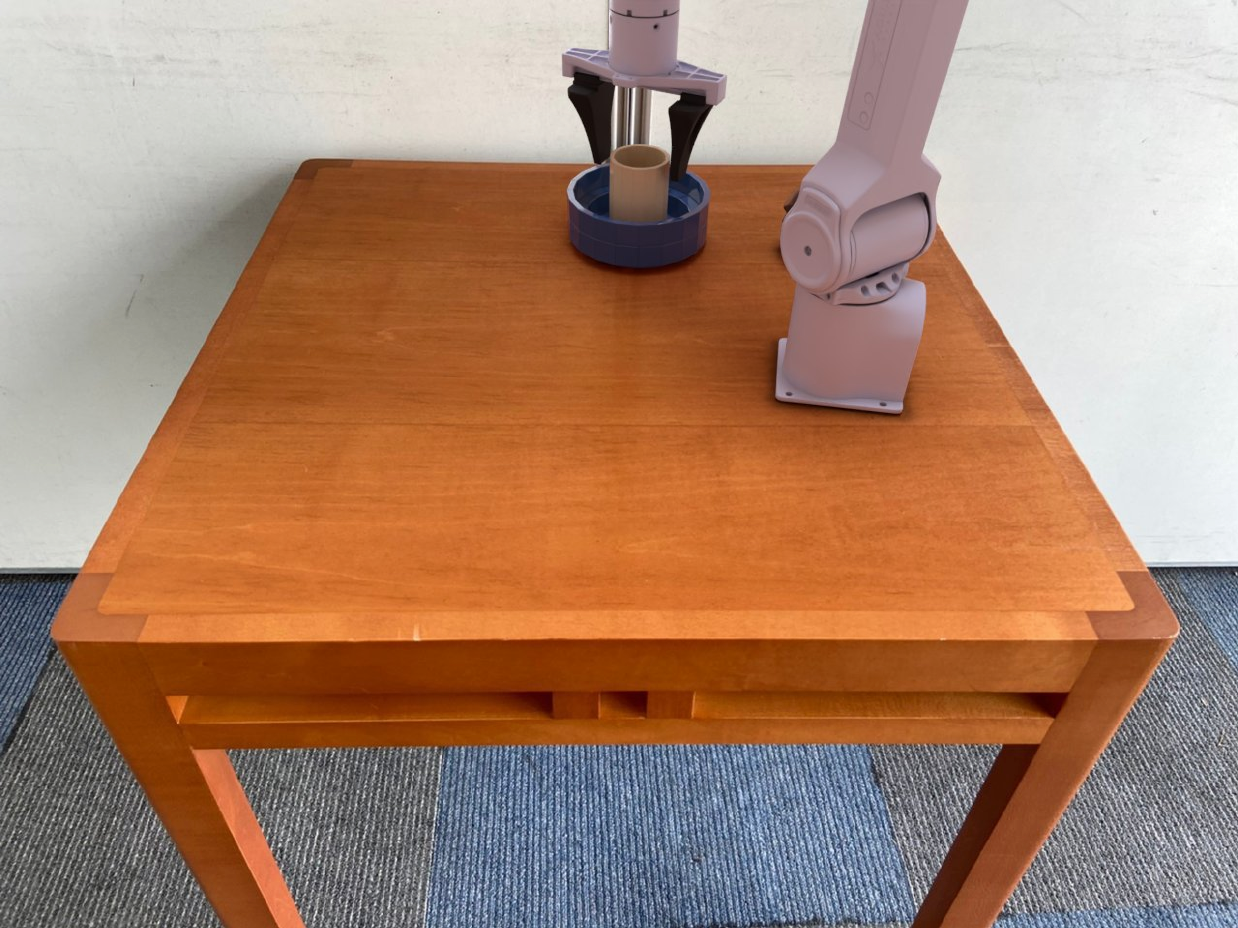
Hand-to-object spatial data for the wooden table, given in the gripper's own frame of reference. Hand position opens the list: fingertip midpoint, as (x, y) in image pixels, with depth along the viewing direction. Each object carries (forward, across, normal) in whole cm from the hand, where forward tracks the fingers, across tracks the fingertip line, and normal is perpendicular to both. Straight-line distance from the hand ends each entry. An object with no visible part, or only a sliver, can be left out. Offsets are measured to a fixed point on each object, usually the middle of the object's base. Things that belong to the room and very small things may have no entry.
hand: (639, 168), depth 82 cm
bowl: (+7, 0, 0) cm, 7 cm away
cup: (+6, 0, 0) cm, 6 cm away
